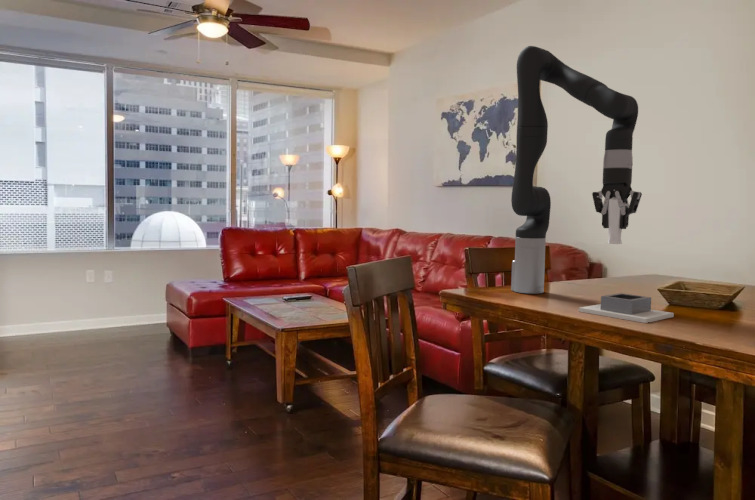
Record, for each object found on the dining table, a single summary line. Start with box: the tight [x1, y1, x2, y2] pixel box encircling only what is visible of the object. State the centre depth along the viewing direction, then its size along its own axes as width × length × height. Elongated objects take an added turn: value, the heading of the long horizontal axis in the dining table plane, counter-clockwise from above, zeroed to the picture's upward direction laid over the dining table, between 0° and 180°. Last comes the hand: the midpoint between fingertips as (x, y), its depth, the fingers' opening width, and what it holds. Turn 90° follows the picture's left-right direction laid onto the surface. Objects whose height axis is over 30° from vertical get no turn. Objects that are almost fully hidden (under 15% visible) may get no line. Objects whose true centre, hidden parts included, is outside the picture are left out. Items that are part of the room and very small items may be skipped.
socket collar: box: [600, 292, 652, 315], centre depth 153 cm, size 8×9×4 cm
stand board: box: [578, 303, 675, 324], centre depth 153 cm, size 18×14×1 cm
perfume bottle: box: [606, 197, 625, 245], centre depth 166 cm, size 5×4×15 cm
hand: (614, 228), depth 167 cm, fingers closed on perfume bottle, 4 cm apart
